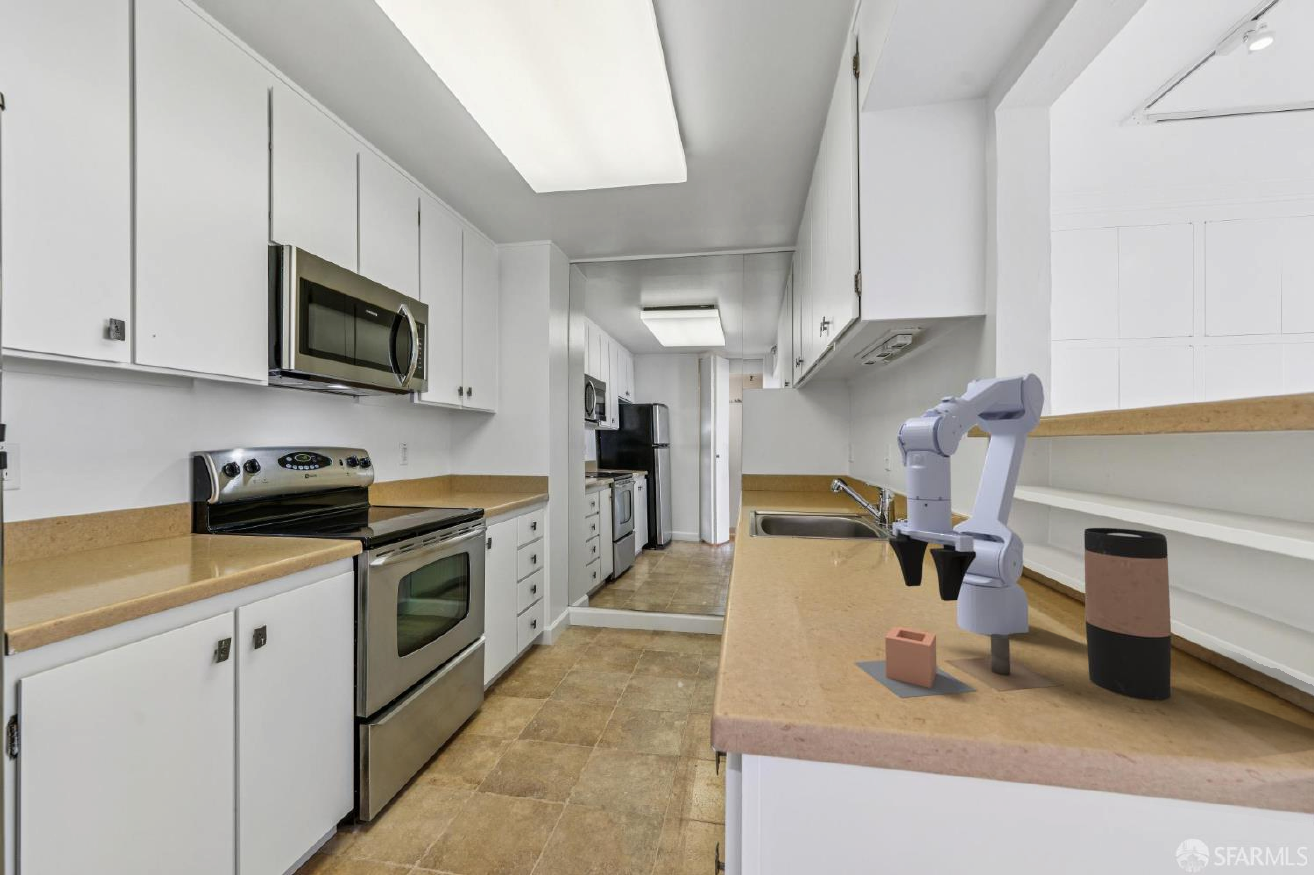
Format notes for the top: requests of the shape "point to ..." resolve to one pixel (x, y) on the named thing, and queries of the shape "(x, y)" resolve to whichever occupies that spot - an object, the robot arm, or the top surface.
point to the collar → (911, 656)
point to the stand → (1002, 669)
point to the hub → (904, 689)
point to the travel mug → (1128, 612)
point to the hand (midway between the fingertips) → (930, 592)
